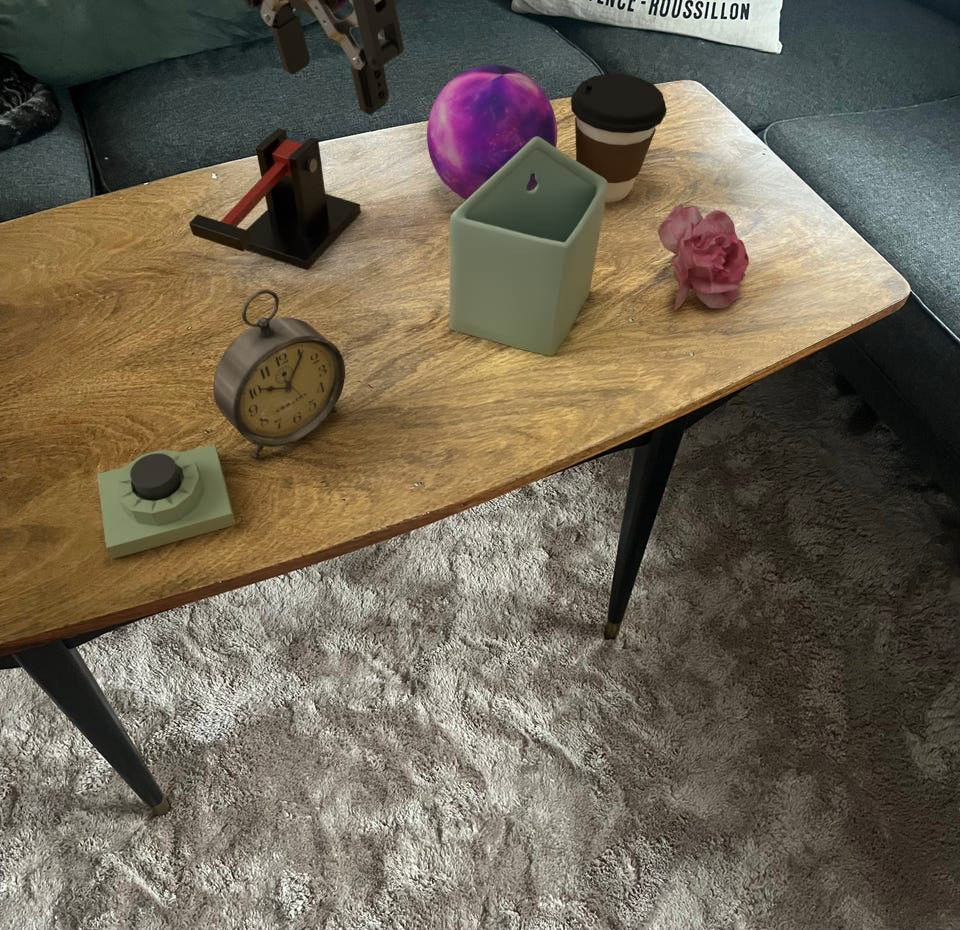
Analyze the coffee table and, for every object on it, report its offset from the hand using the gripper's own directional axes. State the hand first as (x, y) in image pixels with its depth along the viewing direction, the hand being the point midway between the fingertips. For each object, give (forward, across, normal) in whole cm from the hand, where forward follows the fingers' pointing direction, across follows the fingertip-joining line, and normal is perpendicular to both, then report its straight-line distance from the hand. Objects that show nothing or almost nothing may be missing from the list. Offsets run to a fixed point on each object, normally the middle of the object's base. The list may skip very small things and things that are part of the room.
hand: (335, 87), depth 63 cm
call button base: (+23, +2, -28) cm, 37 cm away
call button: (+20, +2, -28) cm, 34 cm away
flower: (+32, +20, +28) cm, 46 cm away
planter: (+29, +11, +10) cm, 32 cm away
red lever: (+20, -18, 0) cm, 27 cm away
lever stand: (+28, -20, +5) cm, 35 cm away
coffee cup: (+33, +1, +36) cm, 49 cm away
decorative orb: (+31, -9, +25) cm, 41 cm away
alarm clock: (+25, +3, -16) cm, 30 cm away
